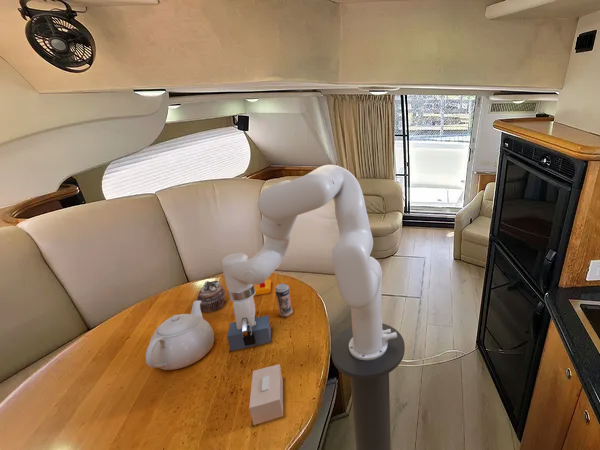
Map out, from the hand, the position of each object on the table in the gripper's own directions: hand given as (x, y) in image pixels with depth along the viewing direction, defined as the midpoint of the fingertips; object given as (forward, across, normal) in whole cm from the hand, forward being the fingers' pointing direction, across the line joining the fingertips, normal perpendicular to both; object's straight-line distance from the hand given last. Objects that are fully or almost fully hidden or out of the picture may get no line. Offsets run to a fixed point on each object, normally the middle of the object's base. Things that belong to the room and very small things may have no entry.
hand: (251, 334), depth 105 cm
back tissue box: (+2, 0, 0) cm, 2 cm away
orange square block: (+2, -32, +1) cm, 32 cm away
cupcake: (+2, -26, -16) cm, 31 cm away
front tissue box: (+2, +27, +6) cm, 28 cm away
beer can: (+2, -11, +11) cm, 16 cm away
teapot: (+2, -1, -20) cm, 20 cm away
